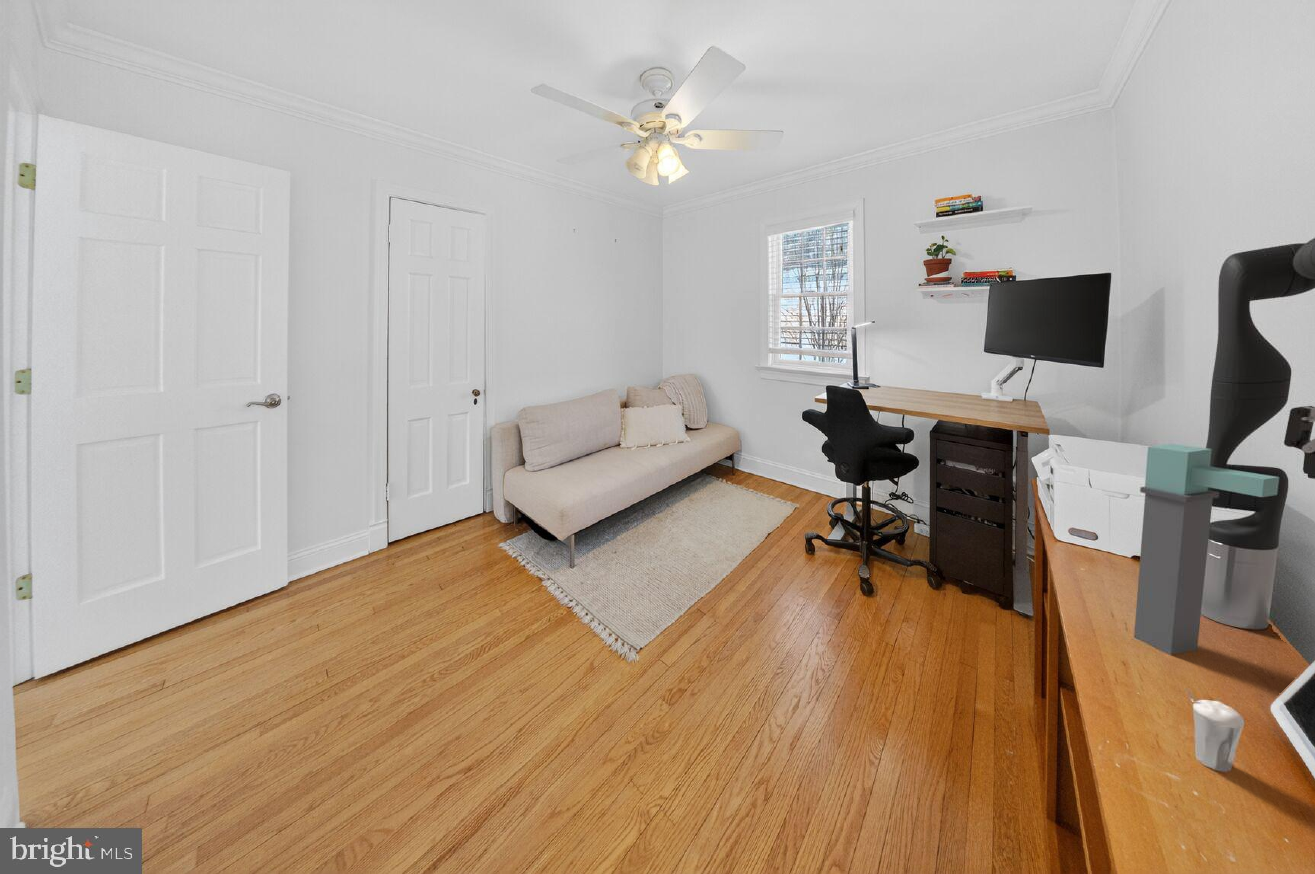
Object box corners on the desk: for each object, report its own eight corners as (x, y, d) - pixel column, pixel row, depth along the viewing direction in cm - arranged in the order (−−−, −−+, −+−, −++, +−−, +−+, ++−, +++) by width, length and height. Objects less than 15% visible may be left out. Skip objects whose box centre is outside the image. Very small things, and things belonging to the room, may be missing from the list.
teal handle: (1144, 486, 87) (1148, 446, 86) (1166, 483, 88) (1170, 443, 87) (1255, 509, 73) (1260, 462, 71) (1280, 505, 73) (1286, 458, 72)
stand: (1129, 636, 92) (1140, 487, 87) (1158, 630, 93) (1171, 482, 88) (1171, 657, 85) (1186, 497, 80) (1202, 651, 86) (1219, 492, 81)
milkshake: (1185, 740, 68) (1191, 682, 67) (1242, 766, 64) (1249, 704, 62) (1175, 755, 66) (1181, 694, 65) (1233, 782, 62) (1240, 718, 60)
